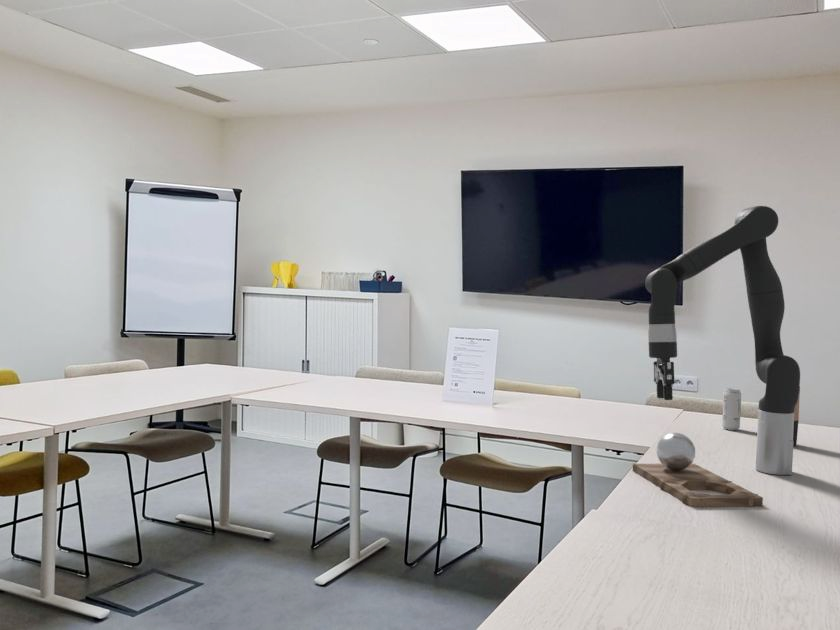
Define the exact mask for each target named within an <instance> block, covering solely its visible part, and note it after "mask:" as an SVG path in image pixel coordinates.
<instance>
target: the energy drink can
mask: <svg viewBox="0 0 840 630" xmlns="http://www.w3.org/2000/svg"><path fill="white" fill-rule="evenodd" d="M722 395H723V398H722V399H723V401H722V417H721V420H722V421H721V426H722V427H723V430H725V429H728V430H727V431H732V430H737V431H739V429H740V427H741V411H742V410H741V409H742V408H741V407H742V406H741V405H742V393H741V389H740V388H737V387H736V388H735V387H726V388H725V390H724V391H723V394H722Z"/></svg>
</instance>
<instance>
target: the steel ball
mask: <svg viewBox="0 0 840 630" xmlns="http://www.w3.org/2000/svg"><path fill="white" fill-rule="evenodd" d="M656 456H657V458H658V461H659V462H660V464H663V465H664V466H665V467H667V468H669V469H672V470H682V469H685V468H687V467H688V466H690V465H691V464H693V462H694V460H695V458H696V447H695V445H694V443H693V441H692V440H691V439H690V438H689V437H688V436H687V435H685V434H683V433H681V432H670V433H667V434H665V435H663V436H662V437H661V438H660V439H659V440H658V441H657V446H656Z"/></svg>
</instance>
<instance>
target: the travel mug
mask: <svg viewBox="0 0 840 630" xmlns="http://www.w3.org/2000/svg"><path fill="white" fill-rule="evenodd" d="M800 389H801V387H800V385H799V396H798V401H797V404H796V406H795V410H794V429H793V442H794V443H793V447H796V446H797V444H798V443H797V441H798V430H799V419H800V417H799V416H800V414H799V413H800V392H801V390H800Z"/></svg>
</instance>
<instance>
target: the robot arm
mask: <svg viewBox="0 0 840 630" xmlns="http://www.w3.org/2000/svg"><path fill="white" fill-rule="evenodd" d="M778 226H779V216H778V213H777V211H775V210H774V209H773V208H772V207H770V206H766V205H757V206H756V205H755V206H751V207H747V208H744V209H742V210H741V211H739V212H738V213H737V215H736V217H735V220H734V225H733V226H731V227H729V228H728V229H726V230H725V231H723V232H721V233H719V234H717V235H715V236H713V237H711V238H709V239H707V240H706V239H705V241H703V242H701V243H698V244H696V245H694V246H693V247H691V248H690V249H688V250H686V251H684V252H683V253H682V254H680V255H678V256H677V257H676V258H675V259H673V260H671V261H669V262H667V263H666V264H663V265H662V266H660V267H659V268H657V269H655V270H653V271H652V272H649V274H648V275H647V276H646V277H645V281H644V284H645V289H646V290H647V292H648V293H649V294H651V298H650V299H651V300H650V301H651V303H650V305H649V308H648V331H647V334H648V338H647V339H648V357H649V358H651V359H656V360H655V361H653V382H654V383H655V385H656V398H657V399H663V400H664V401H672V400H673V397H674V396H673V386H674V385H675V383H676V381H675V366H674V365H675V363H674V361H671V358H672V359H673V358H677V357H678V340H677V337H678V336H677V334H678V333H677V329H676V328H677V327H676V313H675V304H676V298H677V287H678V285H680V284H681V283H683V282H684V281H686V280H690V279H691V278H693V277H695V276H697V275H698V274H700V273H703V271H705V270H706V269H708V268H710V267H712V266H713V265H714V264H717V263H718V262H720V261H721V260H722V259H724V258H726V257H727V256H729V255H731V254H733V253H734V252H736V251H738V250H740V254H741V258H742V264H743V274H744V279H745V286H746V287H745V288H746V295H747V302H748V308H749V314H750V319H751V326H752V333H753V338H754V339H753V340H754V353H755V354H754V357H755V358H754V359H755V360H754V361H755V363H754V364H755V372H756V375H757V377H758V379H759V380H760V381H761V382H762V383H763V384H765V393H764V396H763V397H762V398H760V400H759V401H758V411H757V412H758V414H757V433H756V435H757V436H756V449H755V451H756V453H755V454H756V455H755V470H756V471H758V472H760V473H764V474H770V475H780V476H785V475H786V476H787V475H789V476H793V461H794V457H793V456H794V446H793V443H794V442H793V429H794V410H795V406H796V404H797V401H798V396H799V386H800V383H801V369H800V365H799V363H798V362H797V360H795V358H793V357H791V356H789V355H784V351H783V347H782V342H781V341H782V340H781V327H782V324H783V319H784V315H785V306H786V305H785V298H784V291H783V285H782V281H781V279H780V277H779V275H778V272H777V270H776V269H775V267H774V265H773V262H772V261H771V258H770V256H769V252H768V246H767V238H768V237H770V236H771V235H773V234H774V233H775V231H776V230H777V228H778Z"/></svg>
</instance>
